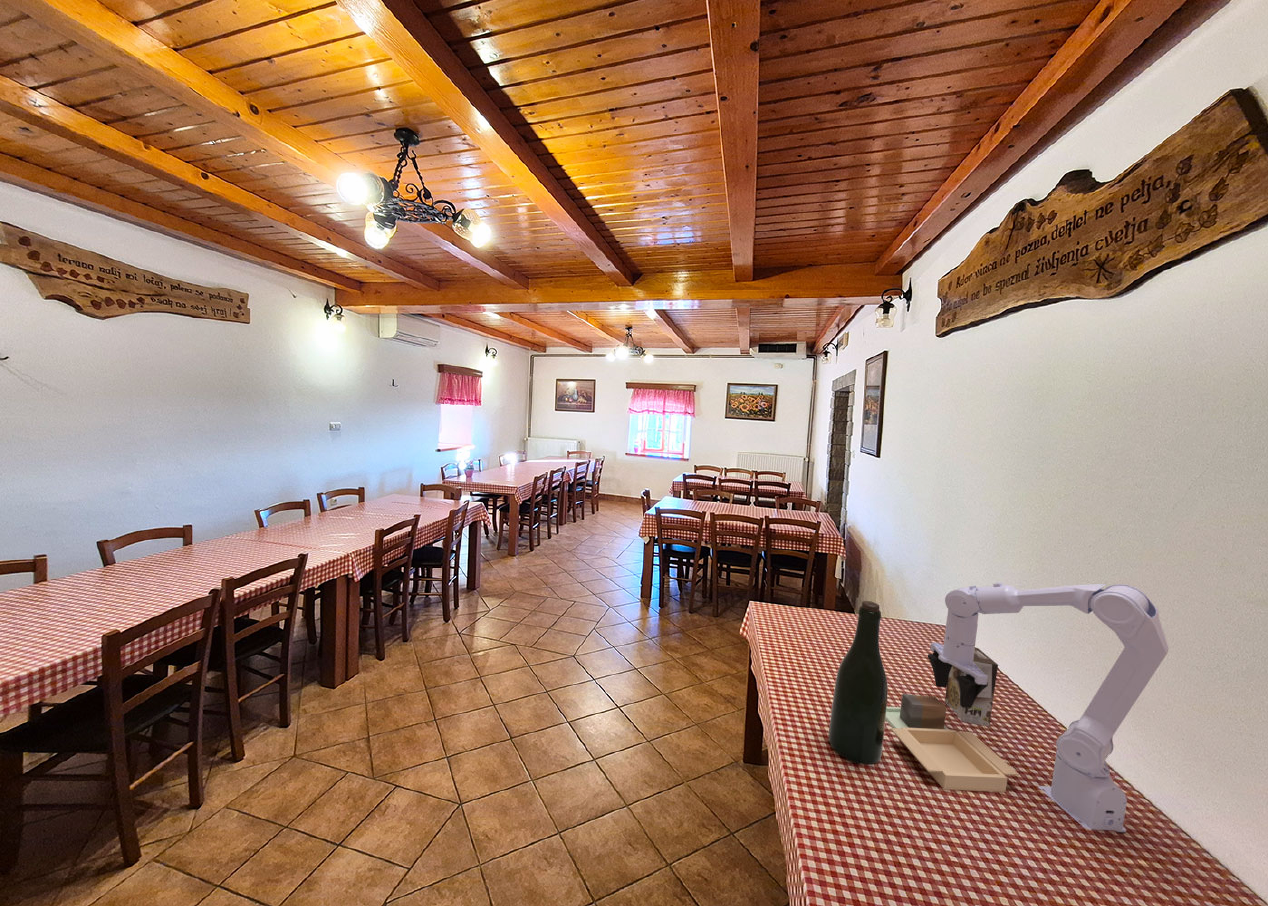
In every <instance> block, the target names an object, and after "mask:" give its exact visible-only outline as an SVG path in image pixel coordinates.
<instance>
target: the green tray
mask: <svg viewBox="0 0 1268 906" xmlns="http://www.w3.org/2000/svg"><path fill="white" fill-rule="evenodd" d="M900 710H901V706H887V708H886V718H885V722H887V724H888V725H889V726H890V727H891V728H898V729H901V727H904V728H909V727H908V726H907V725H906V724H905V723H904V722H903V721H902V720H901V719H900ZM944 729H948V730H950V729H949V728H948V727H947V726H946V725H945V724H944Z"/></svg>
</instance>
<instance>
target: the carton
mask: <svg viewBox="0 0 1268 906" xmlns="http://www.w3.org/2000/svg"><path fill="white" fill-rule="evenodd" d="M948 729H949V728H948ZM948 729H926V728H904V727H901V729H898V728H892V727H891V728H890V730H891V731H892V733H893V734H894V735H895V736H896V737H897V738H898V740H900V742H901V743H902V744H903V745H904V746H905V748H907V750H909V752H910V753H911V754H912V755H913V756H914V757H915V758H916V760H917V761H918V762H919V763H920V764H921V766H922V767H924V769H925V770H926V771H927V772H928V773H929V775H931V777H932V778H933V779H934V780H935V781H936V783H938V785H940V787H941V788H942V789H943V790H947V791H948V790H949V791H971V792H972V791H975V792H976V791H977V792H995V793H998V792H1000V793H1006V792H1007V785H1008V778H1009V777H1007V776H1019V773H1018V772H1017V771H1016V770H1015V769H1014V768H1012V767H1011V766H1010V765H1009V764H1008V763H1007V762H1006V761H1005V760H1004V759H1002V758H1001V757H1000V756H999V755H997V753H995V752H994V751H993V750H992V749H991V748H990V747H989V746H988V745H986V744H985V743H984V742H983V741H982V740H981V739H979V738H978V737H977V736H976V735H975V734H974V733H972V732H971V731H960V730H958V731H957V730H956V729H949V730H948Z"/></svg>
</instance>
